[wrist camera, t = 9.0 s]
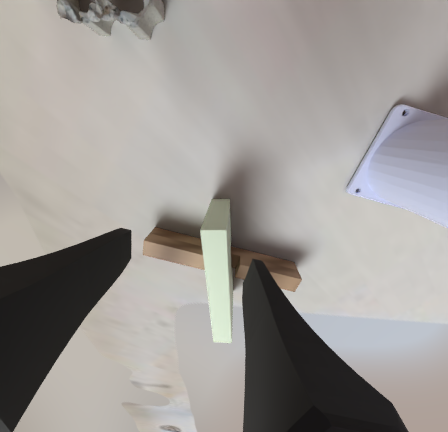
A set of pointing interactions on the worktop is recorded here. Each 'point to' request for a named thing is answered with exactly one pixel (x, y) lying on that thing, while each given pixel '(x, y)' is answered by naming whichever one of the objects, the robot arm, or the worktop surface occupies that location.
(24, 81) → the worktop surface
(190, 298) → the worktop surface
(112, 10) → the egg carton
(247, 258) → the walnut board
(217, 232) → the long pale green beam
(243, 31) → the worktop surface
